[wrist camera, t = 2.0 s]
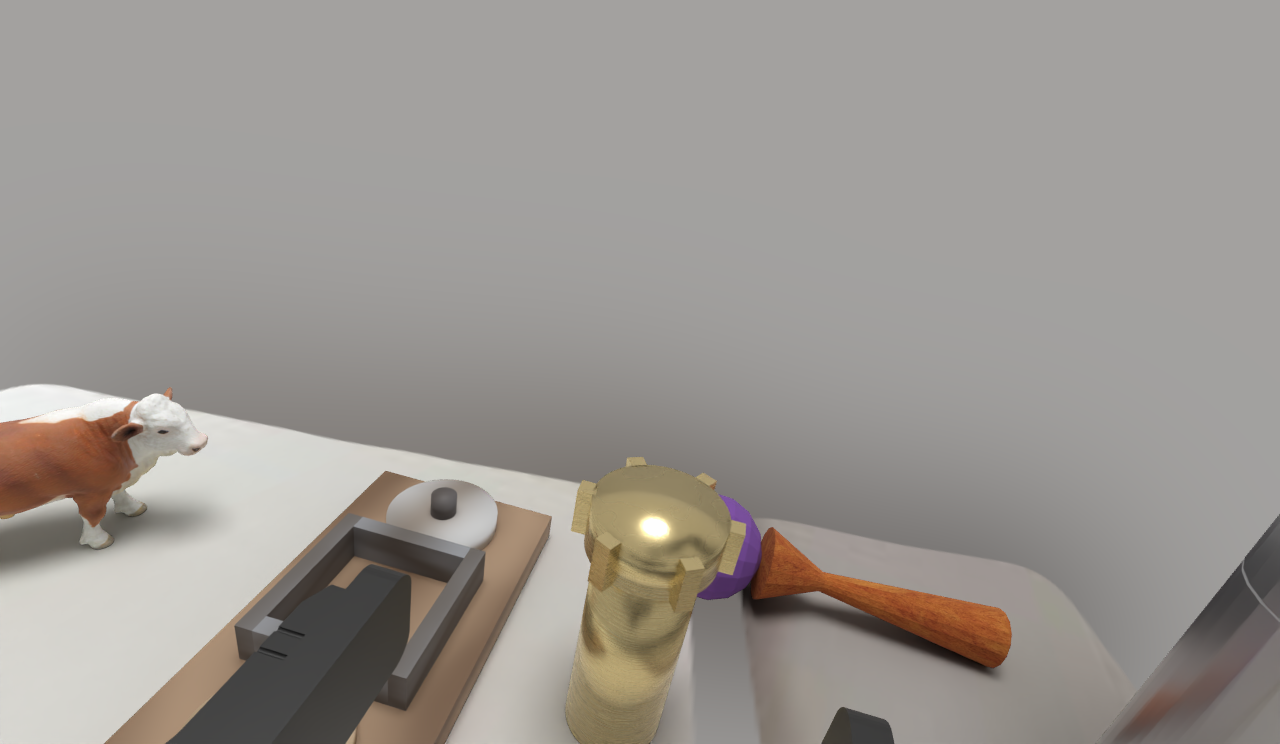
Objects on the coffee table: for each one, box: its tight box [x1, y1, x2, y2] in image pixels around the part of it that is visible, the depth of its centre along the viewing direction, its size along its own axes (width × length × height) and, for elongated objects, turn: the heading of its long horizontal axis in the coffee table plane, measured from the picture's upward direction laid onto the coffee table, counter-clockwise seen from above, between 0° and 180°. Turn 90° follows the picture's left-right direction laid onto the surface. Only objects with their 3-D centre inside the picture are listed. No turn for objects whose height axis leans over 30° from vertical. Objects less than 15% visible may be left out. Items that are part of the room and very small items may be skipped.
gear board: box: [104, 471, 552, 744], centre depth 29 cm, size 11×20×4 cm, turn 169°
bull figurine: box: [0, 387, 208, 549], centre depth 30 cm, size 4×13×8 cm, turn 120°
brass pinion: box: [565, 457, 746, 744], centre depth 26 cm, size 6×6×12 cm
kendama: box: [697, 494, 1012, 668], centre depth 35 cm, size 6×6×20 cm
